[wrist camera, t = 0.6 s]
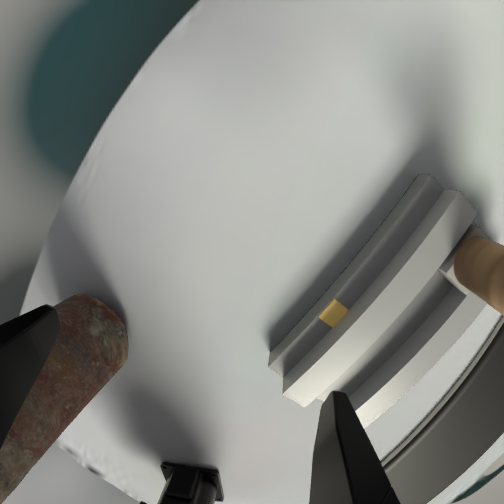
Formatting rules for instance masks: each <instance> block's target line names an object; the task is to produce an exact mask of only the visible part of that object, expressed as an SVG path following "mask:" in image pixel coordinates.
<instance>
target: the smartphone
mask: <svg viewBox="0 0 504 504" xmlns="http://www.w3.org/2000/svg"><path fill="white" fill-rule="evenodd" d="M503 433H504V316H503V317H502V318H501V320H500V321H499V323H498V325H497V326H496V328H495V329H494V331H493V332H492V334H491V335H490V337H489V339H488V340H487V342H486V343H485V345H484V346H483V347H482V349H481V350H480V352H479V353H478V355H477V356H476V357H475V359H474V360H473V362H472V363H471V364H470V366H469V367H468V368H467V370H466V371H465V372H464V374H463V375H462V376H461V378H460V379H459V380H458V381H457V383H456V384H455V385H454V387H453V388H452V389H451V390H450V391H449V393H448V394H447V395H446V396H445V397H444V399H443V400H442V401H441V402H440V403H439V404H438V406H437V407H436V408H435V409H434V410H433V411H432V412H431V414H430V415H429V416H428V417H427V418H426V419H425V420H424V421H423V422H422V423H421V424H420V425H419V427H418V428H417V429H416V430H415V431H414V432H413V433H412V434H411V435H410V436H409V437H408V438H407V439H406V440H405V441H404V442H403V443H402V444H401V445H400V446H399V447H398V448H397V449H396V450H394V451H393V452H392V453H391V454H390V455H389V456H388V457H387V458H386V459H385V460H384V461H383V462H381V464H382V466H383V469H384V471H385V473H386V475H387V477H388V479H389V481H390V483H391V487H393V489H394V491H395V493H396V495H397V497H398V499H399V501H400V503H401V504H427V503H428V502H429V501H430V500H432V499H433V498H434V497H436V496H437V495H438V494H439V493H441V492H442V491H443V490H444V489H445V488H447V487H448V486H449V485H450V484H451V483H453V482H454V481H455V480H456V479H457V478H458V477H459V476H461V475H462V474H463V473H464V472H465V471H466V470H467V469H468V468H469V467H470V466H472V465H473V464H474V463H475V462H476V461H477V460H478V459H479V458H480V457H481V456H482V455H483V454H484V453H485V452H486V451H487V450H488V449H489V448H490V447H491V446H492V445H493V444H494V442H495V441H496V440H497V439H498V438H499V437H500V436H501V435H502V434H503Z"/></svg>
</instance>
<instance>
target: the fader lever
mask: <svg viewBox="0 0 504 504" xmlns="http://www.w3.org/2000/svg"><path fill="white" fill-rule="evenodd" d="M438 271H439V272H440V273H441V274H442V275H443V276H444V277H445V278H446V279H447V280H448V281H449V282H450V283H451V284H452V285H453V286H455V287H456V288H457V289H459V290H460V291H461V292H463V293H464V294H465V295H468V294H469V292H470V291H471V292H473V293H474V294H475V295H477V296H478V297H479V298H481V299H482V300H483V301H485V302H486V303H488V304H489V305H490V306H492V307H493V308H494V309H496V310H497V311H498V312H499V313H501V314H502V315H503V316H504V246H503V245H500V244H498V243H495V242H493V241H490V239H489V238H488V237H487V235H486V234H485V233H484V232H483V230H482V229H481V228H480V227H478V226H475V225H472V224H470V226H469V227H468V229H467V230H466V232H465V233H464V235H463V236H462V237H461V239H460V240H459V242H458V243H457V244H456V246H455V247H454V248H453V250H452V251H451V252H450V254H449V255H448V256H447V258H446V259H445V260H444V262H443V263H442V264H441V266H440V267H439V268H438Z"/></svg>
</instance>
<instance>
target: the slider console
mask: <svg viewBox="0 0 504 504" xmlns="http://www.w3.org/2000/svg"><path fill="white" fill-rule="evenodd" d="M477 214H478V212H477V211H476V210H475V209H474V207H473V206H472V205H471V204H470V203H469V202H468V200H467V199H466V198H465V197H464V196H463V195H462V193H461V192H460V191H455V190H447V189H444V188H443V187H442V186H441V185H440V184H439V183H438V182H437V181H436V179H435V178H434V177H433V176H432V175H424V174H419V175H418V176H417V178H416V179H415V181H414V182H413V183H412V185H411V186H410V187H409V189H408V190H407V191H406V193H405V194H404V196H403V197H402V198H401V200H400V201H399V202H398V203H397V205H396V206H395V207H394V209H393V210H392V211H391V213H390V214H389V215H388V217H387V218H386V219H385V220H384V222H383V223H382V224H381V226H380V227H379V228H378V229H377V231H376V232H375V233H374V234H373V236H372V237H371V238H370V239H369V241H368V242H367V243H366V244H365V246H364V247H363V248H362V249H361V251H360V252H359V253H358V254H357V255H356V257H355V258H354V259H353V260H352V261H351V263H350V264H349V265H348V266H347V267H346V269H345V270H344V271H343V272H342V273H341V275H340V276H339V277H338V278H337V279H336V280H335V282H334V283H333V284H332V285H331V286H330V287H329V289H328V290H327V291H326V292H325V293H324V294H323V295H322V297H321V298H320V299H319V300H318V301H317V302H316V303H315V304H314V306H313V307H312V308H311V309H310V310H309V311H308V312H307V313H306V315H305V316H304V317H303V318H302V319H301V320H300V321H299V322H298V323H297V324H296V326H295V327H294V328H293V329H292V330H291V331H290V332H289V333H288V334H287V335H286V336H285V337H284V338H283V340H282V341H281V342H280V343H279V344H278V345H277V346H276V347H275V348H274V349H273V350H272V351H271V352H270V355H269V363H268V367H269V368H270V369H272V370H273V371H275V372H276V373H278V374H279V375H281V376H282V377H283V394H284V395H285V396H287V397H288V398H290V399H292V400H293V401H295V402H297V403H298V404H300V405H302V406H303V407H306V406H307V405H308V404H309V403H311V402H312V401H313V400H314V399H315V398H317V399H319V400H321V401H322V402H324V401H325V400H326V398H327V397H328V395H329V394H330V392H331V391H333V390H336V391H342V392H345V393H346V394H347V396H348V398H349V400H350V402H351V404H352V406H353V408H354V410H355V412H356V414H357V416H358V418H359V420H360V422H361V424H362V426H363V428H366V427H367V426H368V425H369V424H371V423H372V422H373V421H374V420H376V419H377V418H378V417H379V416H380V415H382V414H383V413H384V412H385V411H386V410H387V409H389V408H390V407H391V406H392V405H393V404H394V403H395V402H397V401H398V400H399V399H400V398H401V397H402V396H403V395H404V394H405V393H406V392H408V391H409V390H410V389H411V388H412V387H413V386H414V385H415V384H416V383H417V382H418V381H419V380H420V379H421V378H422V377H423V376H424V375H425V374H426V373H427V372H428V371H429V370H430V369H431V368H432V367H433V366H434V365H435V364H436V363H437V362H438V361H439V360H440V359H441V358H442V357H443V356H444V355H445V353H446V352H447V351H448V350H449V349H450V348H451V347H452V346H453V345H454V343H455V342H456V341H457V340H458V339H459V338H460V337H461V336H462V334H463V333H464V332H465V331H466V330H467V328H468V327H469V326H470V325H471V324H472V322H473V321H474V320H475V319H476V317H477V316H478V315H479V314H480V312H481V311H482V310H483V309H484V307H485V306H486V305H487V303H486V302H485V301H483V300H482V299H481V298H479V297H478V296H477V295H475V294H474V293H473V292H471V291H470V292H469V294H468V295H465V294H464V293H463V292H461V291H460V290H459V289H457V288H456V287H455V286H453V285H452V284H451V283H450V282H449V281H448V280H447V279H446V278H445V277H444V276H443V275H442V274H441V273H440V272H439V271H438V268H439V267H440V266H441V264H442V263H443V262H444V260H445V259H446V258H447V256H448V255H449V254H450V252H451V251H452V250H453V248H454V247H455V246H456V244H457V243H458V242H459V240H460V239H461V237H462V236H463V235H464V233H465V232H466V230H467V229H468V227H469V226H470V224H472V225H475V226H477V225H476V224H475V223H474V222H473V220H474V218H475V217H476V215H477ZM490 241H491V240H490ZM493 242H494V241H493ZM495 243H496V242H495ZM498 244H499V243H498ZM500 245H501V244H500Z"/></svg>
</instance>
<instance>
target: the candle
mask: <svg viewBox="0 0 504 504" xmlns="http://www.w3.org/2000/svg"><path fill="white" fill-rule="evenodd" d="M54 307H55V308H56V309H57V311H58V315H59V319H60V322H61V331H60V333H59V336H58V338H57V340H56V342H55V344H54V346H53V348H52V350H51V352H50V355H49V357H48V359H47V361H46V363H45V365H44V367H43V369H42V371H41V373H40V374H39V376H38V378H37V380H36V381H35V383H34V385H33V387H32V389H31V390H30V392H29V394H28V396H27V398H26V400H25V401H24V403H23V405H22V407H21V409H20V411H19V413H18V415H17V417H16V419H15V421H14V423H13V425H12V427H11V429H10V431H9V433H8V435H7V437H6V439H5V441H4V443H3V446H2V448H1V450H0V504H2V502H3V501H4V500H5V499H6V498H7V496H9V495H10V494H11V492H12V491H13V490H14V489H15V488H16V487H17V486H18V484H19V483H20V482H21V481H22V480H23V478H24V477H25V476H26V474H27V473H28V472H29V471H30V469H31V468H32V467H33V466H34V465H35V464H36V463H37V461H38V460H39V459H40V458H41V457H42V456H43V455H44V453H45V452H46V451H47V450H48V449H49V447H50V446H51V445H52V444H53V443H54V442H55V441H56V439H57V438H58V437H59V436H60V435H61V433H62V432H63V431H64V430H65V429H66V428H67V426H68V425H69V424H70V423H71V422H72V421H73V420H74V419H75V418H76V417H77V415H78V414H79V413H80V412H81V411H82V410H83V408H84V407H85V406H86V405H87V404H88V403H89V402H90V401H91V400H92V399H93V398H94V397H95V395H96V394H97V393H98V392H99V391H100V390H101V389H102V388H103V387H104V386H105V385H106V383H107V382H108V381H109V380H110V379H111V378H112V377H113V376H114V374H115V373H116V372H117V371H118V370H119V369H120V368H121V367H122V366H123V364H124V363H125V362H126V359H127V353H128V340H127V332H126V329H125V326H124V324H123V322H122V321H121V320H120V318H119V316H118V315H117V314H116V313H115V311H113V310H112V309H110V308H109V307H108V306H106V305H105V304H104V303H103V302H101V301H100V300H98V299H96V298H95V297H92V296H90V295H88V294H81V295H74V296H72V297H70V298H68V299H66V300H64V301H62V302H61V303H59V304H57V305H55V306H54Z"/></svg>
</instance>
